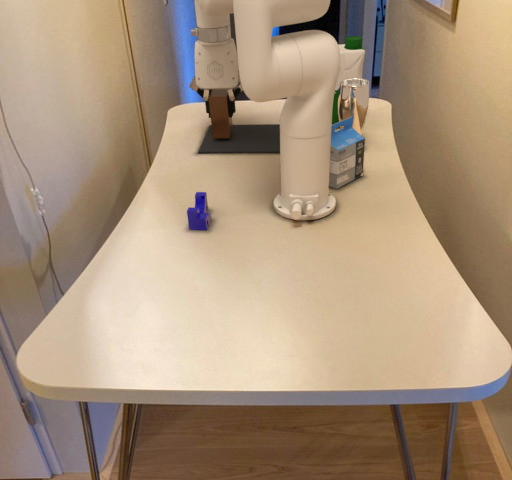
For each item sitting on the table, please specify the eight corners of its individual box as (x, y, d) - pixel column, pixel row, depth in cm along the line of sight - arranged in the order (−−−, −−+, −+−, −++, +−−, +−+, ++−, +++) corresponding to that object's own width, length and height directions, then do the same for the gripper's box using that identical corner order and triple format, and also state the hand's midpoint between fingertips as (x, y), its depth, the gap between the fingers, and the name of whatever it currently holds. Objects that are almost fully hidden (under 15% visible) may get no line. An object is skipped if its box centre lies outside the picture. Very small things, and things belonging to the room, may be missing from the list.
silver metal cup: (333, 152, 131) (337, 86, 121) (337, 141, 136) (340, 77, 126) (363, 154, 130) (368, 87, 120) (365, 142, 135) (371, 77, 125)
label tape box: (336, 189, 116) (339, 131, 108) (322, 184, 119) (324, 127, 111) (363, 176, 121) (368, 119, 113) (349, 171, 123) (352, 115, 115)
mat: (287, 153, 132) (287, 151, 132) (198, 153, 135) (197, 151, 134) (291, 125, 146) (291, 124, 145) (210, 126, 148) (209, 125, 148)
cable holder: (207, 230, 106) (204, 211, 103) (189, 229, 107) (186, 211, 104) (215, 210, 112) (213, 192, 109) (198, 210, 112) (196, 191, 110)
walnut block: (229, 138, 138) (226, 96, 131) (212, 138, 138) (208, 97, 131) (232, 129, 142) (230, 88, 135) (216, 129, 142) (212, 89, 136)
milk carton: (362, 126, 143) (369, 41, 130) (328, 130, 142) (332, 45, 129) (351, 115, 150) (357, 33, 136) (319, 118, 149) (322, 36, 136)
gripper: (174, 39, 123) (185, 121, 135) (249, 37, 121) (253, 121, 133) (181, 31, 129) (191, 111, 141) (252, 29, 127) (256, 110, 139)
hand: (221, 115), depth 137 cm, fingers closed on walnut block, 4 cm apart
